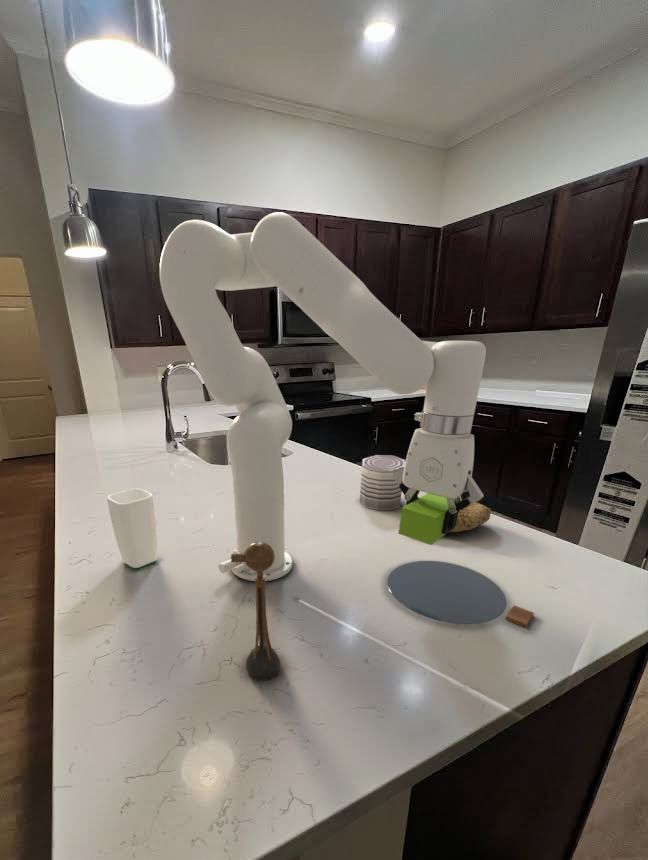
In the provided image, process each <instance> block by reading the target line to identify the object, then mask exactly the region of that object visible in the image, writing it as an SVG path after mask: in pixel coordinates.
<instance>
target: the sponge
mask: <svg viewBox="0 0 648 860" xmlns="http://www.w3.org/2000/svg"><path fill="white" fill-rule="evenodd" d="M491 513H492V510H491V508H490V507H488V506H486V505H484V504H482V503H480V502H478V501H477V502H475V503H473V504H471V505H469V506H467V507H465V508H464V509H462V510H460V511H459V514H458V519H457V524H456V527H455V528H454V529H453V530H451V531H450V532H449V533H461V532H464V531H471V530H472V529H475V528H477V527H479V526H481V525H484V524H485V523H487V522H488V521H489V520H490V519H491Z"/></svg>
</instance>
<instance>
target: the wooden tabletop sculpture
mask: <svg viewBox="0 0 648 860" xmlns="http://www.w3.org/2000/svg"><path fill="white" fill-rule="evenodd" d="M230 558H231V562H245V563H246V565H247V566H248V567H249V568H250V569H251V570H254V571H257V574H256V575H254V579H255V581H254V585H255V586H254V588H255V606H256V607H255V611H256V612H255V613H256V614H255V615H256V621H255V623H256V627H255V629H256V632H255V645H254V648H252V649H251V650H250V652H249V655H248V657H247V658H246V661H245V669H246V671H247V674H248V676H249V677H251V678H253V679H255V680H256V681H269V680H270V679H273V678H274V677H276V676H278V674H279V672H280V669H281V661H280V657H279V655H278V653H277V652H276V650H275V649H274V648H273V647H272V645H271V644H272V643H271V640H270V634H269V627H268V619H267V601H266V600H267V599H266V598H267V597H266V581H265V579H266V575H265V574H263V571H265V570H267V569H269V568H270V567H271V566H272V565H273V563H274V560H275V555H274V550H273V549H272V548H271V546H270V545H268V544H266V543H264V542H254V543H252V544H251V545H249V546H248V547H247V549H246V550H245V552H244V554H233V553H231V555H230Z"/></svg>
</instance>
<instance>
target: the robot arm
mask: <svg viewBox="0 0 648 860" xmlns="http://www.w3.org/2000/svg"><path fill="white" fill-rule="evenodd" d="M159 282H160V287H161V292H162V296H163V299H164V301H165V305H166V306H167V309H168V311H169V313H170V316H171V317H172V319H173V321H174V323H175V325H176V328H177V329H178V331H179V333H180V335H181V337H182V340H183V341H184V344H185V345H186V348H187V350H188V352H189V354H190V357H191V358H192V360H193V362H194V365H195V367H196V368H197V371H198V373H199V375H200V377H201V378H202V382H203V383H204V386H205V387H206V388H205V389H206V390H207V391H208V393H209V395H210V396H211V398H212V399H213V400H214V401H215V402H216V403H218V404H220V405H221V406H226V407H234V406H235V408H236V410H237V412H238V415H237V416H236V417H235V418H234V419H233V421H232V422H231V424H230V426H229V427H228V430H227V435H226V446H227V455H228V458H229V462H230V463H229V464H230V469H231V476H232V488H233V501H234V502H233V503H234V515H235V516H234V517H235V518H234V519H235V520H234V521H235V536H236V548H235V549H233V550H232V554H244V552H245V550H246V549H247V547H248V546H249V545H251V544H252V543H254V542H264V543H266V544H268V545H270V546H271V548H272V549H273V550H274V555H275V560H274V563H273V565H272V566H271V567H270V568H269V569H267V570H265V571H263V574H265V575H266V579H265V582H269V581H270V582H271V581H274V580H278V579H280V578H283V577H284V576H286V575H287V574H288V573H290V571H291V570H292V568H293V558H292V556H291V555H290V553H288V552H287V551H286V550H285V477H284V476H285V475H284V465H283V458H282V454H283V453H282V451H283V450H282V449H283V447H284V445H285V444H286V443H287V442H288V440H289V438H290V437H291V434H292V431H293V419H292V416H291V413H290V410H289V408H288V406H287V403H286V401H285V398H284V397H283V394H282V392H281V390H280V388H279V385H278V383H277V381H276V379H275V376H274V375H273V372H272V370H271V368H270V365H269V364H268V362H267V361H266V359H265V358H264V356H263V355H262V354H261V353H260V352H259V351H257V350H256V349H253V348H251V347H248V346H244V345H243V343H242V342H241V339H240V338H239V336H238V334H237V332H236V329H235V327H234V325H233V322H232V319H231V317H230V316H229V314H228V312H227V310H226V308H225V307H224V305H223V304H222V302H221V300H220V298H219V296H218V294H217V290H218V291H226V292H227V291H230V292H231V291H241V290H251V289H263V288H272V287H276V288H277V289H278V290H280V292H281V293H283V294H284V295H285V296H286V297H287V298H288V299H290V300H291V301H292V302H293V303H294V304H295V305H296V306H297V307H298V308H299V309H301V311H302V312H303V313H304V314H305V315H307V316H308V318H310V319H311V321H313V322H314V323H315V324H316V325H317V326H318V327H319V328H320V329H321V330H322V331H323V332H324V333H325V334H326V335H328V336H329V337H330V338H332V339H333V340H334V341H336V343H338V345H340V346H341V347H342V348H343V349H344V350H345V351H346V352H347V354H349V355H350V356H351V357H352V358H353V359H354V360H355V361H356V362H357V363H358V364H359V365H361V366H362V367H363V368H364V369H365V370H366V371H367V372H368V373H369V374H370V375H371V376H373V378H374V379H376V380H377V382H379V383H380V384H381V385H382V386H383V387H384V388H386V389H387V390H389V391H390V392H392V393H394V394H398V395H411V394H415V393H416V392H418V391H420V390H422V389H423V388H424V387H426V389H425V397H424V402H423V409H422V410H421V412H416V413H415V414H414V421H416V422H417V421H418V422H420V423H419V427H420V428H416V429H415V430H414V432H413V435H412V437H411V441H410V444H409V447H408V449H407V454H406V458H405V467H403V468H402V469H401V470H399V471H398V472H397V473H395V474H394V475H393V478H394V479H395V481H396V482H397V484H398V485H399V487H400V489H401V491H402V494H403V496H404V500H405V501H406V503H405V506H406V505H408V504H410V503H411V502H413V501H415V500H417V499H418V498H420V497H419V496H418V495H419V494H420V492H422V493H425V494H427V493H429V494H433V495H437V496H441V497H445V498H446V499H447V504H448V512H446V513H445V518H444V523H443V528H442V534H445V535H447V534H448V533H451V532H450V531H451V530H453V529H454V528H455V527H456V523H457V518H458V513H459V511H460V510H462V509H464V508H465V507H467V506H469V505H471V504H473V503H475V502H477V503H478V502H479V501H481V500H482V499H484V497H485V495H484V493H483V492H482V490H481V489H480V487H479V486H478V484H477V483H476V481H475V479H474V478H473V471H474V461H475V435H474V434H472V433H471V432H472V427H473V421H474V416H475V412H476V406H477V401H478V396H479V391H480V387H481V381H482V376H483V372H484V367H485V361H486V356H487V347H486V345H485V344H484V343H483V342H481V341H477V340H441V341H439V342H438V341H429V340H428V341H427V340H422V339H420V338H419V337H418V336H417V335H416V334H415V333H414V332H413V331H412V330H411V329H410V328H408V327H407V325H405V324H404V323H403V322H402V321H401V319H399V318H398V317H397V316H396V315H395V314H394V313H393V312H391V311H390V309H388V307H387V306H385V305H384V304H383V303H382V302H381V301H380V300H379V299H378V298H377V297H376V296H375V295H374V294H373V293H372V292H371V291H370V289H369V288H368V287H367V285H366V284H365V283H364V282H363V281H362V280H361V279H360V278H359V277H358V276H357V275H356V274H355V273H354V272H353V271H351V270H350V269H349V268H348V267H347V265H345V264H344V263H343V262H342V261H340V259H338V258H337V257H336V256H335V255H334V254H333V253H332V252H331V251H330V250H329V249H328V248H327V247H326V246H325V245H324V244H323V243H322V242H320V240H319V239H318V238H317V237H315V235H313V234H312V233H311V232H310V231H309V230H308V229H307V228H306V227H305V226H303V224H302V223H300V221H298V220H297V219H296V218H294V217H293V216H292V215H290V214H287V213H285V212H279V211H277V212H272V213H268V214H267V215H265V216H264V217H262V218H261V219H260V220H259V221H258V223H257V224H256V225H255V227H254V229H253V231H252V232H244V233H233V234H230V233H228V232H227V231H225V230H223V229H222V228H221V227H219V226H218V225H216V224H214V223H212V222H209V221H206V220H202V219H190V220H186V221H183V222H182V223H180V224H178V225H177V226H176V227H175V228H174V229H173V230H172V231H171V233H170V234H169V235H168V236H167V238H166V241H165V243H164V246H163V248H162V252H161V256H160V262H159ZM466 492H468V493H469V496H468V497H466V498H464V499H462V495H463V493H466ZM218 570H219V572H220V573H221V574H226V573H227V572H229V571H231V572H232V573H233V574H234V575H235V576H236V577H238V578H241V579H242V580H245V581H250V582H255V579H254V575H256V574H257V571H254V570H251V569H250V568H249V567H248V566H247V565H246V563H245V562H231V557H230V558H229V559H227V560H225V561H223V562H221V563H219V564H218Z"/></svg>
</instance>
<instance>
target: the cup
mask: <svg viewBox="0 0 648 860" xmlns="http://www.w3.org/2000/svg"><path fill="white" fill-rule="evenodd" d="M106 501H107V505H108V506H107V507H108V511H109V516H110V520H111V525H112V529H113V530H112V531H113V532H114V537H115V538H114V539H115V540H116V544H117V547H118V550H119V553H120V556H121V560H122V561H123V563H125V564H127V565H128V566H129V567H131V568H133V569H141V568H143V567H146V566H147V565H150V564H152V563H154V562H155V561H156V560H157V559H158V529H157V518H156V509H155V501H154V495H153V494H152V493H151V492H149V491H147V490H145V489H142V488H139V487H138V488H137V487H135V488H129V489H126V490H122V491H119V492H115V493H111V494H109V495H107V497H106Z"/></svg>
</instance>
